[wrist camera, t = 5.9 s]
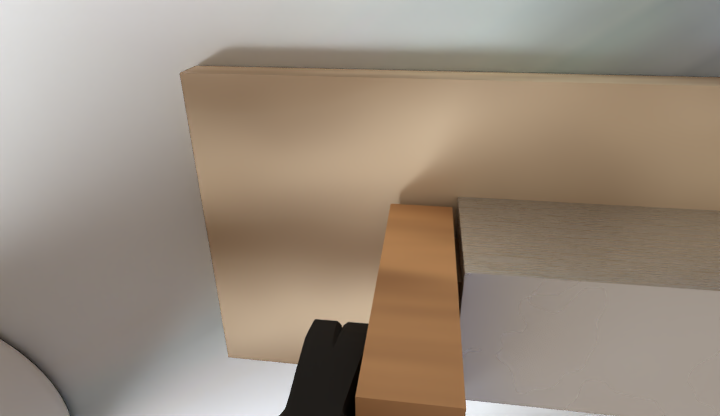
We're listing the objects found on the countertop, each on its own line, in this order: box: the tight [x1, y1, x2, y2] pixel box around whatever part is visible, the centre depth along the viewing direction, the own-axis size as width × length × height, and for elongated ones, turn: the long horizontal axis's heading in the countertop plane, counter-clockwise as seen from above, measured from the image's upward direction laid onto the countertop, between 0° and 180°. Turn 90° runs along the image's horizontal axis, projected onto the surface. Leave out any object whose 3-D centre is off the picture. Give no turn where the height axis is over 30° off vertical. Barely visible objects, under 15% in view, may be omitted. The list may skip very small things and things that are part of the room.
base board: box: [180, 66, 720, 364], centre depth 17 cm, size 12×30×1 cm, turn 90°
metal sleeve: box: [454, 197, 720, 416], centre depth 14 cm, size 4×10×4 cm, turn 90°
